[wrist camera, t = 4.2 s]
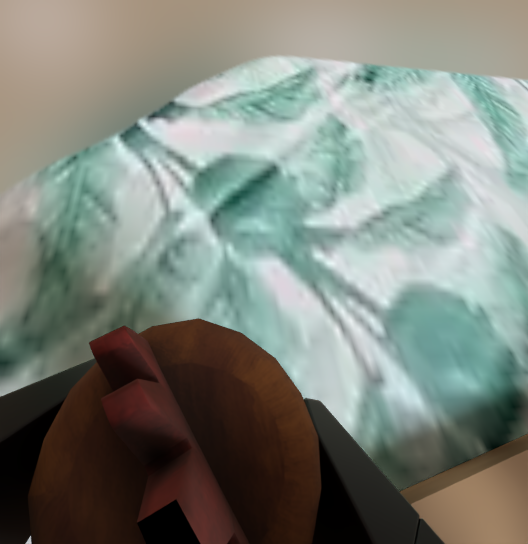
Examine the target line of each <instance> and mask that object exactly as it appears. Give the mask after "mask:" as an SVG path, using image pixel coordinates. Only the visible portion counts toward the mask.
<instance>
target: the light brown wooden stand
mask: <svg viewBox="0 0 528 544" xmlns="http://www.w3.org/2000/svg"><path fill="white" fill-rule="evenodd" d="M400 493H401V494H402V495H403V496H404V498H405V499H406V500H407V501H408V502H409V503H410V504H411V506H412V507H413V508H414V509H415V510H416V511H417V512H418V514H419V515H420V518H423V519H424V520H425V521H426V523H427V524H428V525H429V526H430V527H431V528H432V529H433V531H434V532H435V533H436V534H437V535H438V536H439V537H440V539H441V540H442V541H443V542H444V543H445V544H528V434H526V435H524V436H522V437H520V438H518V439H515V440H513V441H511V442H509V443H506V444H504V445H502V446H500V447H498V448H495V449H493V450H491V451H489V452H487V453H484V454H482V455H480V456H478V457H475V458H473V459H471V460H469V461H467V462H464V463H462V464H460V465H458V466H455V467H453V468H451V469H449V470H447V471H444V472H442V473H440V474H438V475H435V476H433V477H431V478H429V479H427V480H424V481H422V482H420V483H418V484H415V485H413V486H411V487H409V488H407V489H404V490H402V491H400Z"/></svg>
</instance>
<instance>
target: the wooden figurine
mask: <svg viewBox="0 0 528 544" xmlns="http://www.w3.org/2000/svg"><path fill="white" fill-rule="evenodd" d="M89 344H90V347H91V350H92V352H93V355H94V357H95V359H96V361H97V362H96V363H95V364H94V365H93V366H92V367H91V369H90V370H89V371H88V372H87V373H86V374H85V375H84V376H83V377H82V378H81V379H80V380H79V381H78V382H77V383H76V384H75V385H74V386H73V388H72V389H71V390H70V391H69V393H68V395H67V397H66V399H65V401H64V403H63V404H62V406H61V408H60V410H59V412H58V414H57V416H56V417H55V419H54V421H53V423H52V425H51V427H50V429H49V430H48V432H47V434H46V436H45V438H44V441H43V444H42V448H41V451H40V455H39V458H38V462H37V465H36V469H35V472H34V476H33V479H32V483H31V487H30V490H29V494H28V506H29V517H30V529H31V541H32V544H312V541H313V535H314V529H315V523H316V517H317V511H318V506H319V500H320V494H321V474H320V457H319V441H318V435H317V432H316V430H315V427H314V425H313V422H312V420H311V417H310V415H309V412H308V410H307V407H306V405H305V402H304V400H303V397H302V395H301V393H300V391H299V390H298V389H297V387H296V386H295V385H294V383H293V382H292V380H291V379H290V378H289V376H288V375H287V373H286V372H285V371H284V369H283V368H282V367H281V365H280V364H279V362H278V361H277V360H276V358H274V357H273V356H272V355H270V354H269V353H268V352H266V351H265V350H264V349H262V348H261V347H260V346H258V345H257V344H256V343H254V342H253V341H252V340H250V339H249V338H247V337H246V336H245V335H243V334H242V333H240V332H237V331H234V330H231V329H228V328H225V327H222V326H220V325H217V324H214V323H211V322H208V321H205V320H202V319H193V320H187V321H181V322H175V323H170V324H164V325H158V326H152V327H150V328H149V329H147V330H145V331H143V332H141V333H139V334H137V333H136V332H135V331H133V330H131V329H129V328H128V327H126V326H122V327H120V328H118V329H116V330H114V331H112V332H110V333H108V334H106V335H104V336H101V337H99V338H97V339H95V340H93V341H91V342H89Z"/></svg>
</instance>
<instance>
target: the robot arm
mask: <svg viewBox="0 0 528 544" xmlns="http://www.w3.org/2000/svg"><path fill="white" fill-rule="evenodd" d="M96 362H97V361H96V359H92V360H90V361H87V362H85V363H82V364H80V365H77V366H75V367H72V368H70V369H68V370H65V371H63V372H60V373H58V374H55V375H53V376H50V377H48V378H45V379H43V380H41V381H38V382H36V383H33V384H31V385H28V386H26V387H23V388H21V389H18V390H16V391H14V392H11V393H9V394H6V395H4V396H1V397H0V544H25V543H26V542H27V540H28V539H29V537H30V536H31V529H30V517H29V506H28V494H29V490H30V487H31V483H32V479H33V476H34V472H35V469H36V465H37V462H38V458H39V455H40V451H41V448H42V444H43V441H44V438H45V436H46V434H47V432H48V430H49V429H50V427H51V425H52V423H53V421H54V419H55V417H56V416H57V414H58V412H59V410H60V408H61V406H62V404H63V403H64V401H65V399H66V397H67V395H68V393H69V391H70V390H71V389H72V388H73V386H74V385H75V384H76V383H77V382H78V381H79V380H80V379H81V378H82V377H83V376H84V375H85V374H86V373H87V372H88V371H89V370H90V369H91V367H92V366H93V365H94V364H95V363H96ZM303 400H304V402H305V405H306V407H307V410H308V412H309V415H310V417H311V420H312V422H313V425H314V427H315V430H316V432H317V435H318V441H319V457H320V474H321V494H320V500H319V506H318V511H317V517H316V523H315V529H314V535H313V541H312V544H445V543H444V542H443V541H442V540H441V539H440V537H439V536H438V535H437V534H436V533H435V532H434V531H433V529H432V528H431V527H430V526H429V525H428V524H427V523H426V521H425V520H424V519H423V518H420V515H419V514H418V512H417V511H416V510H415V509H414V508H413V507H412V506H411V504H410V503H409V502H408V501H407V500H406V499H405V498H404V496H403V495H402V494H401V493H400V492H399V491H398V490H397V488H396V487H395V486H394V485H393V484H392V483H391V481H390V480H389V479H388V478H387V477H386V476H385V475H384V473H383V472H382V471H381V470H380V469H379V468H378V467H377V465H376V464H375V463H374V462H373V461H372V460H371V459H370V457H369V456H368V455H367V454H366V453H365V452H364V450H363V449H362V448H361V447H360V446H359V445H358V444H357V442H356V441H355V440H354V439H353V438H352V437H351V436H350V434H349V433H348V432H347V431H346V430H345V429H344V428H343V426H342V425H341V424H340V423H339V422H338V421H337V419H336V418H335V417H334V416H333V415H332V414H331V413H330V411H329V410H328V409H327V408H326V407H325V406H324V405H323V403H322V402H321V401H319V400H314V399H309V398H305V399H303Z"/></svg>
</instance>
